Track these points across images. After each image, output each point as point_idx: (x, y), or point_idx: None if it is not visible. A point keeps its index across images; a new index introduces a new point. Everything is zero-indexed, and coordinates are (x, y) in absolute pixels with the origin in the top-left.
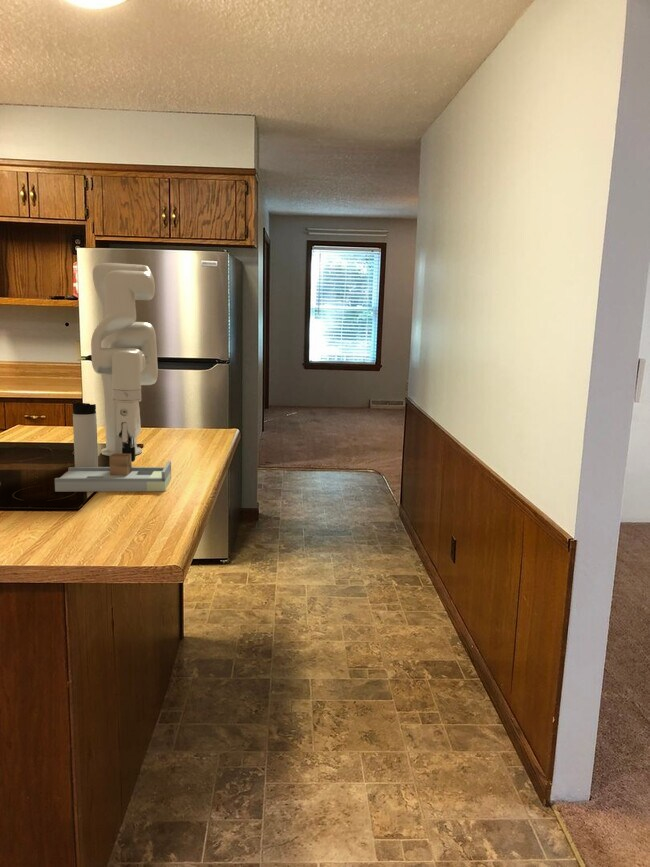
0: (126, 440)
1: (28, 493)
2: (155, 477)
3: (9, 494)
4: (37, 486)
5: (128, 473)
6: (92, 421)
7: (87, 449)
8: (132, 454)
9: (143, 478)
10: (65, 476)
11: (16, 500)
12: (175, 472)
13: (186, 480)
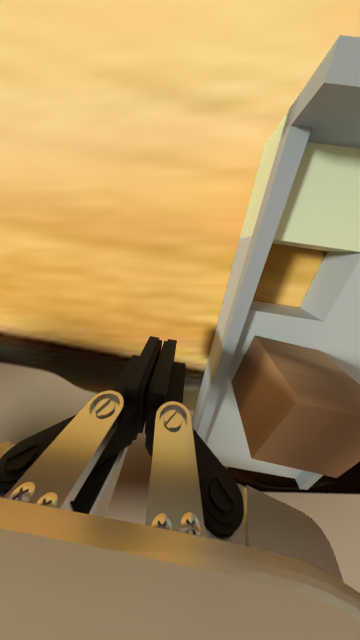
0: (337, 570)
1: (283, 477)
2: None
3: (277, 491)
4: (235, 468)
5: (302, 348)
6: None
7: (107, 488)
8: (171, 367)
9: None
10: (254, 466)
11: (325, 487)
12: (127, 123)
13: (340, 17)
